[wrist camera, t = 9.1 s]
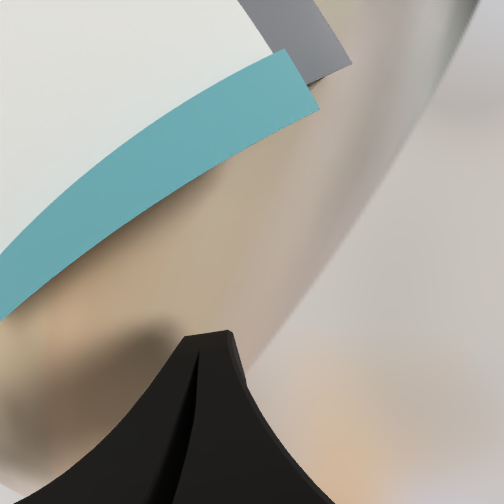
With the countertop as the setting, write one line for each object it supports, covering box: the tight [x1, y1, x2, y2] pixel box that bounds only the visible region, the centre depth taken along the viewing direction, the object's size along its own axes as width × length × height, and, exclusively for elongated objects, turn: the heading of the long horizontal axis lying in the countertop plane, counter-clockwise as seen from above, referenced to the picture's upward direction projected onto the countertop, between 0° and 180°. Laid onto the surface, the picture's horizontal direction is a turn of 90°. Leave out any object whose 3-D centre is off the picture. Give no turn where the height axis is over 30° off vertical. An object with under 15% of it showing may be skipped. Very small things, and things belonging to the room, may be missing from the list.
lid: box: [0, 0, 320, 322], centre depth 5 cm, size 10×9×2 cm
